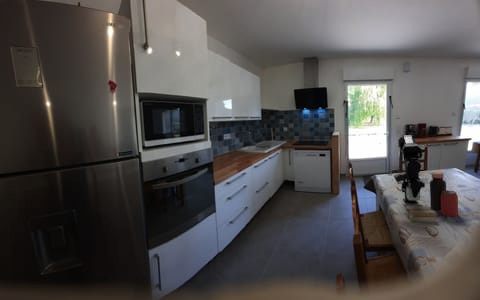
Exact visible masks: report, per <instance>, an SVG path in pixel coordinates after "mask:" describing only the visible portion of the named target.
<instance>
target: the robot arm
mask: <svg viewBox="0 0 480 300" xmlns="http://www.w3.org/2000/svg"><path fill="white" fill-rule="evenodd" d="M397 143H398V144H397V145H398V148H399V151H400V153H402V158H403V166H404V169H403V171H402V172H399V173H397V174H393V179H394V180H395V181H396V182H397V183H400V182H401V187H400V188H401V189H400V190H401V193H404V198H403V199H402V201H403V202H404V203H405V204H419V200H408V198H407V194H406V187H410V188H411V190H412V194H413V197H414V198H416V196H417V195H418V193H419V191H420V192H421V190H422V189H423V188H425V187H426V184H425V183H424V182H423V181H422V180H421V177H420V175H419V174H420V173H421V171H420V170H421V169H422V165H421V163H420V161H419V159H422V158H423V151H422V148H421V147H420V146H419V144H418V143H416V139H415V138H414V137H413V135H411V134H408V135H407V134H406V135H402V136H401V137H400V138H399V139H398V140H397Z"/></svg>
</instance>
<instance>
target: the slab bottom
mask: <svg viewBox="0 0 480 300" xmlns="http://www.w3.org/2000/svg"><path fill="white" fill-rule="evenodd" d="M406 213H407V215H408V216H409V218H410V219H411V221H417V222H436V221H437V220H436V218H437V217H413V216H412V215H411V214H409V213H408V212H407V211H406Z"/></svg>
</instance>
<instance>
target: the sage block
mask: <svg viewBox="0 0 480 300" xmlns="http://www.w3.org/2000/svg"><path fill="white" fill-rule="evenodd" d="M406 194H407V198H408V200H417V201H421V190H420V191H419V193H418V195H417V196H416V198H414V197H413V194H412V190H411V188H410V187H406Z"/></svg>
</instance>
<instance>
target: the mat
mask: <svg viewBox="0 0 480 300" xmlns="http://www.w3.org/2000/svg"><path fill="white" fill-rule="evenodd" d="M404 215H405V216H406V217H407V219H408V220H409V222H410V223H411V224H421V225H422V224H423V225H440V223H439V222H438V221H437V220H436V222H417V221H411V219H410V218H409V216H408V215H407V212H404Z"/></svg>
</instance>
